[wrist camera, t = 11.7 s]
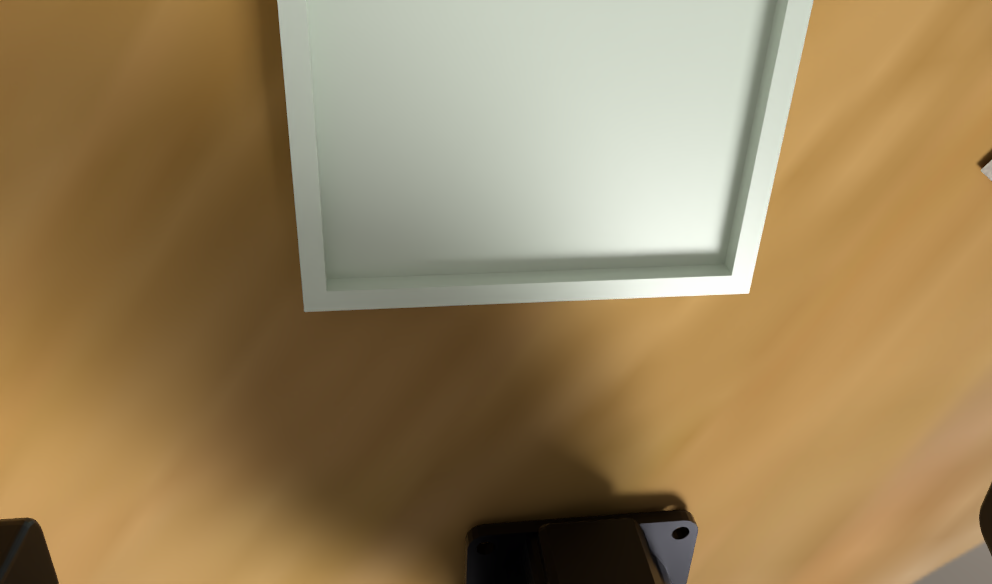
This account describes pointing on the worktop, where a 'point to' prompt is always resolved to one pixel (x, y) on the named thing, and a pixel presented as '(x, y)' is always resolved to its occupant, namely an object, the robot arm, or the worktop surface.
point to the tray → (533, 146)
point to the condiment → (988, 170)
